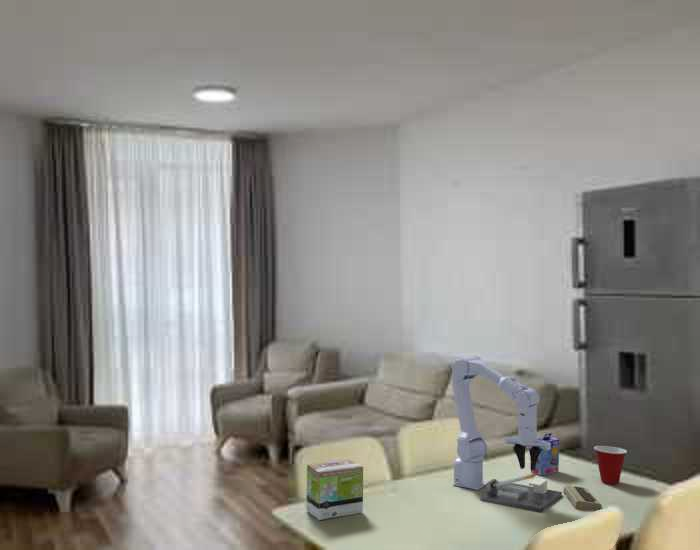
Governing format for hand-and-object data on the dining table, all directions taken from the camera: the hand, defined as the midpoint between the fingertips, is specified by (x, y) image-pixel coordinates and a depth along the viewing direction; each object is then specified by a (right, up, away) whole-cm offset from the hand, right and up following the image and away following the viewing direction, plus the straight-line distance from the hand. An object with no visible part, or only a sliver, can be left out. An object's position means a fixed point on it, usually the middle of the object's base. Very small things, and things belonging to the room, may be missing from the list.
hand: (527, 468), depth 228 cm
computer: (+17, -11, 0) cm, 21 cm away
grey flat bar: (-4, -5, +3) cm, 7 cm away
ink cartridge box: (+14, -10, +32) cm, 36 cm away
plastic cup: (+34, -10, +19) cm, 40 cm away
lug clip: (+4, -9, +4) cm, 11 cm away
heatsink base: (-1, -10, +3) cm, 11 cm away
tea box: (-62, -11, -8) cm, 63 cm away
